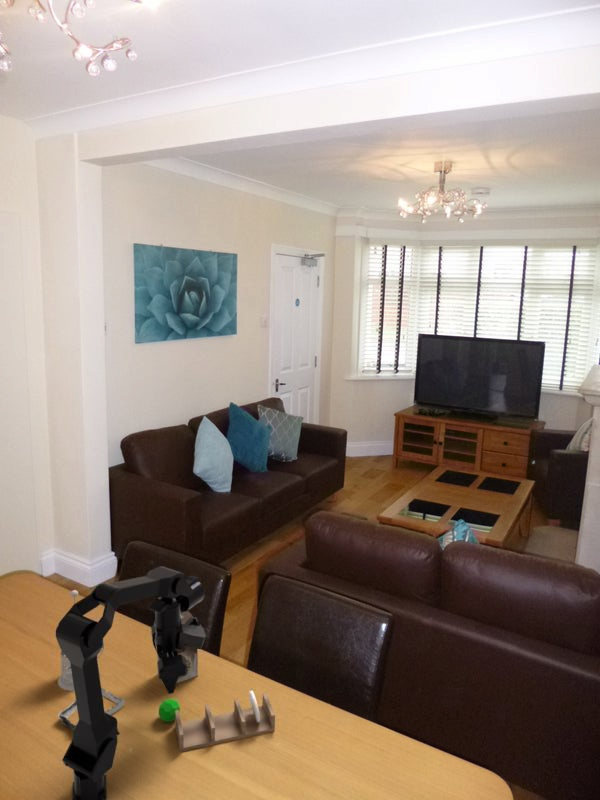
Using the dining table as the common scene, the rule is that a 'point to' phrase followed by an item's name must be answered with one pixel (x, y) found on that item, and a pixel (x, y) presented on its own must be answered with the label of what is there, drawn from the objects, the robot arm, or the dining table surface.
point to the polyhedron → (168, 709)
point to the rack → (224, 726)
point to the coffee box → (188, 654)
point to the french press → (66, 677)
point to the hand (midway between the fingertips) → (168, 680)
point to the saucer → (254, 706)
